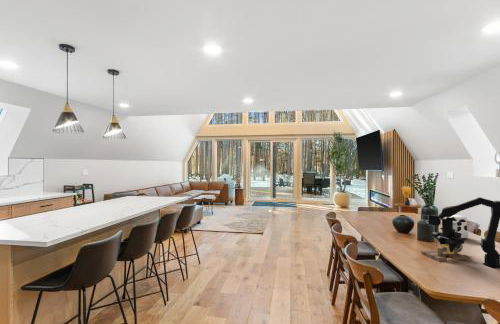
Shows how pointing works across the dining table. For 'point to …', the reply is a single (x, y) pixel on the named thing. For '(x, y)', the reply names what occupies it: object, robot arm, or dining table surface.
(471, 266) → the dining table surface
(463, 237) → the milk container
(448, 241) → the coffee can
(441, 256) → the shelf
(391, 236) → the dining table surface
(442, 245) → the bight saddle
